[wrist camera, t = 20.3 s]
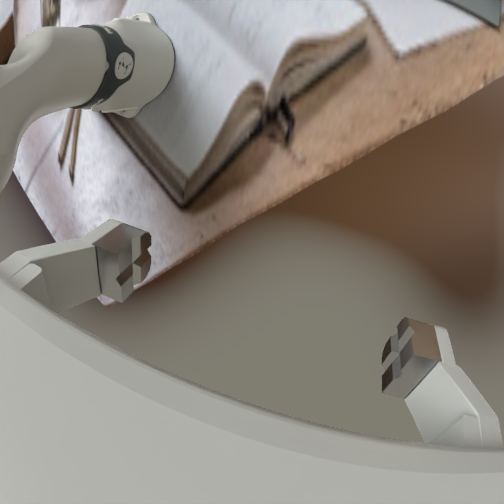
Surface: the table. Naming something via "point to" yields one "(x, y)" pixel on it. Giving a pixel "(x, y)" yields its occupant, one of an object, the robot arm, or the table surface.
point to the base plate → (482, 9)
